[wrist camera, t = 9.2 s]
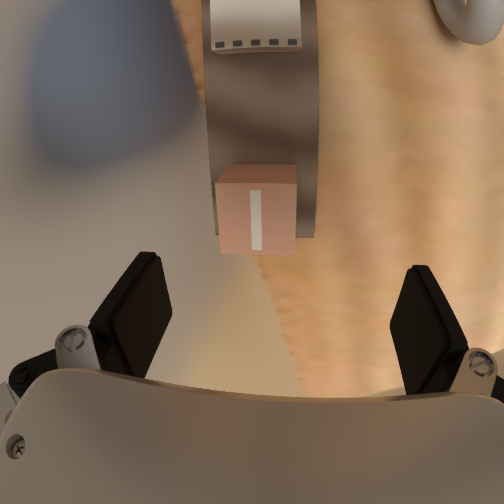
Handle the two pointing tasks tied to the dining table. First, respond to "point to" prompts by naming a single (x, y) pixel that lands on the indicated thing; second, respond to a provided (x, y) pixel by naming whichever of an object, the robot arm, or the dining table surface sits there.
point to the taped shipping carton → (257, 209)
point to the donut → (472, 19)
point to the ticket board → (263, 91)
